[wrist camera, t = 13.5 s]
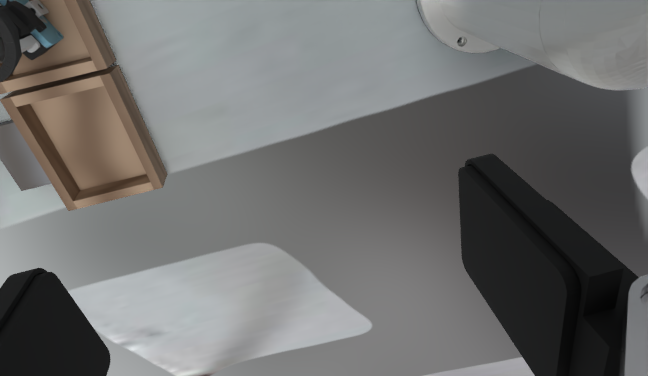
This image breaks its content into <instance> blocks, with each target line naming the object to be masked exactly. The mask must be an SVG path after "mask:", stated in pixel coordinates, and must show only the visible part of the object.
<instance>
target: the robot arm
mask: <svg viewBox="0 0 648 376" xmlns="http://www.w3.org/2000/svg"><path fill="white" fill-rule="evenodd" d="M417 5H418V10H419V12H420V14H421V17H422V19H423V21H424V23H425V25H426V26H427V27H428V29H429V30H430V32H431V33H432V34H433V35H434V36H435V37H436V38H437V39H439V40H440V41H441V42H443V43H444V44H446V45H448V46H449V47H452V48H454V49H456V50H458V51H463V52H469V53H485V52H490V51H494V50H498V49H500V48H503V49H505V50H507V51H509V52H512V53H514V54H516V55H519V56H521V57H523V58H526V59H528V60H530V61H533V62H535V63H537V64H540V65H542V66H544V67H546V68H549V69H551V70H553V71H556V72H558V73H561V74H563V75H566V76H568V77H571V78H573V79H576V80H578V81H580V82H583V83H585V84H588V85H591V86H594V87H598V88H602V89H609V90H634V89H642V88H646V87H648V0H417ZM459 38H460V41H459V42H457V41H458V39H459ZM458 176H459V198H460V224H461V246H462V247H461V248H462V260H463V264H464V267H465V269H466V271H467V273H468V274H469V276H470V278H471V279H472V280H473V282H474V284H475V285H476V287H477V288H478V290H479V291H480V293H481V294H482V296H483V297H484V299H485V300H486V302H487V303H488V305H489V306H490V308H491V310H492V311H493V313H494V314H495V316H496V317H497V318H498V320H499V322H500V323H501V324H502V326H503V328H504V329H505V331H506V332H507V334H508V335H509V337H510V338H511V340H512V341H513V343H514V345H515V346H516V348H517V349H518V351H519V352H520V354H521V355H522V357H523V358H524V360H525V361H526V363H527V364H528V366H529V367H530V369H531V370H532V372H533V373H534V375H535V376H648V275H645V276H642V277H638V276H636V275H635V274H634V273H633V272H632V271H631V270H629V269H628V268H627V267H626V266H625V265H624V264H623V263H621V262H620V261H619V260H618V259H617V258H616V257H614V256H613V255H612V254H611V253H610V252H609V251H607V250H606V249H605V248H604V247H603V246H602V245H601V244H599V243H598V242H597V241H596V240H595V239H594V238H593V237H591V236H590V235H589V234H588V233H587V232H586V231H584V230H583V229H582V228H581V227H580V226H579V225H578V224H576V223H575V222H574V221H573V220H572V219H571V218H569V217H568V216H567V215H566V214H565V213H564V212H563V211H561V210H560V209H559V208H558V207H557V206H556V205H554V204H553V203H552V202H550V201H549V200H546V199H545V198H544V197H542V196H541V195H540V194H539V193H538V192H536V191H535V190H534V189H533V188H532V187H531V186H530V185H529V184H528V183H526V182H525V181H524V180H523V179H522V178H521V177H519V176H518V175H517V174H516V173H515V172H514V171H513V170H511V169H510V168H509V167H508V166H507V165H506V164H504V163H503V162H502V161H501V160H500V159H499V158H498V157H497V156H495V155H494V154H488V155H484V156H480V157H476V158H472V159H468V160H467V161H466V163H465V167H462V168H460V169H459V174H458ZM109 365H110V353H109V350H108V348H107V347H106V345H105V344H104V343H103V341H102V340H101V339H100V337H99V336H98V334H97V333H96V331H95V330H94V328H93V327H92V325H91V324H90V323H89V321H88V320H87V318H86V317H85V315H84V314H83V313H82V311H81V310H80V308H79V307H78V306H77V304H76V303H75V301H74V300H73V298H72V297H71V296H70V294H69V293H68V291H67V290H66V288H65V287H64V286H63V284H62V283H61V281H60V280H59V279H58V277H57V276H56V275H55V274H54V273H52V272H47V271H46V270H44V269H42V268H37V269H33V270H29V271H25V272H21V273H17V274H13V275H11V276H10V277H8V278H7V280H6V281H5V283H4V284H3V285H2V287H1V288H0V376H106V375H107V372H108V369H109Z"/></svg>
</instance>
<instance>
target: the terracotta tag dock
mask: <svg viewBox="0 0 648 376" xmlns="http://www.w3.org/2000/svg"><path fill="white" fill-rule="evenodd" d="M29 1H32V0H29ZM39 1H40V2H41V3H42V4H43V5H44V6H45V7H46V8H47V9H48V11H49V13H47V14H44V15H43V14H42V15H43V16H44V17H45V18H46V19H47V20H48V21H49V22H50V23H51V24H52V25H53V26H54V27H55V28H56V29H57V30H58V31H59V32H60V33H61V34H62V35H63V37H64V38H63V39H62V40H60V41H59V42H58V43H57V44H55V45H54V46H53V47H52V48H50V49H49V50H48V51H47V52H45V53H44V54H43V55H41V56H39V57H37V58H35V59H34V60H30V59H28V58H27V57H26V56H25V55H24V54H23V53H22V56H21V58H20V60H19V62H18V64H17V66H16V68H15V70H14V71H13V73H12V74H11V75H10V76H9V77H8V78H7V79H5V80H4V81H2V82H0V94H3V93H7V92H11V91H15V90H19V89H24V88H28V87H32V86H36V85H40V84H44V83H48V82H53V81H57V80H61V79H65V78H69V77H73V76H78V75H82V74H86V73H90V72H94V71H98V70H103V69H107V68H108V67H109V66H111V65H112V64H113V63H114V62H115V61H116V59H115V56H114V54H113V52H112V50H111V47H110V45H109V43H108V41H107V38H106V36H105V34H104V32H103V30H102V27H101V25H100V23H99V21H98V18H97V16H96V14H95V12H94V9H93V7H92V5H91V3H90V1H89V0H39ZM38 6H39V7H40V8H41V9H43V8H42V7H41V6H40V5H39V4H38ZM2 64H3V62H2V63H0V67H1V65H2Z"/></svg>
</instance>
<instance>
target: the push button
mask: <svg viewBox="0 0 648 376" xmlns="http://www.w3.org/2000/svg"><path fill="white" fill-rule="evenodd" d="M38 4H39V5H40V6H41V7H42V8H43V9H41V8H40V7H39V6H38ZM47 13H49V11H48V9H47V8H46V7H45V6H44V5H43V4H42V3H41V2H40V1H39V0H32V1H29V0H0V63H2V62H3V64H2V65H1V67H0V82H2V81H4V80H5V79H7V78H8V77H9V76H10V75H11V74H12V73H13V71H14V70H15V68H16V66H17V64H18V62H19V60H20V58H21V56H22V53H23V54H24V55H25V56H26V57H27V58H28V59H30V60H34V59H35V58H37V57H39V56H41V55H43V54H44V53H45V52H47V51H48V50H49V49H50V48H52V47H53V46H54V45H55V44H57V43H58V42H59V41H60V40H62V39H63V38H64V37H63V35H62V34H61V33H60V32H59V31H58V30H57V29H56V28H55V27H54V26H53V25H52V24H51V23H50V22H49V21H48V20H47V19H46V18H45V17H44V16H43V15H44V14H47ZM42 14H43V15H42Z"/></svg>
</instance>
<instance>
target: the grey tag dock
mask: <svg viewBox="0 0 648 376" xmlns="http://www.w3.org/2000/svg"><path fill="white" fill-rule="evenodd" d="M0 101H1V102H2V104H3V106H4V107H5V109H6V110H7V112H8V114H9V115H10V117H11V119H12V120H10V121H6V122H2V123H0V159H1V161H2V162H3V164H4V165H5V167H6V168H7V170H8V171H9V173H10V174H11V176H12V177H13V179H14V180H15V182H16V183H17V185H18V186H19V188H20V189H21V191H23V190H27V189H31V188H35V187H39V186H43V185H47V184H51V183H52V185H53V186H54V188H55V190H56V191H57V193H58V195H59V196H60V198H61V199H62V201H63V203H64V204H65V206H66V208H67V209H68V210H69V211H70V210H74V209H78V208H83V207H87V206H91V205H95V204H99V203H103V202H107V201H110V200H115V199H119V198H123V197H127V196H131V195H135V194H139V193H143V192H147V191H151V190H155V189H159V188H162V187H163V185H164V182H165V179H166V177H167V172H166V170H165V168H164V166H163V163H162V161H161V159H160V157H159V154H158V152H157V150H156V148H155V145H154V143H153V141H152V139H151V137H150V134H149V132H148V130H147V128H146V125H145V123H144V121H143V119H142V116H141V114H140V112H139V110H138V108H137V105H136V103H135V101H134V99H133V96H132V94H131V92H130V90H129V87H128V85H127V83H126V81H125V79H124V76H123V74H122V72H121V70H120V67H119V65H116V66H112V67H108V68H107V69H103V70H98V71H94V72H90V73H86V74H82V75H78V76H73V77H69V78H65V79H61V80H57V81H53V82H48V83H44V84H40V85H36V86H32V87H28V88H24V89H19V90H15V91H13V92H11V93H10V94H8V95H7V96H5V97H4V98H2V99H0Z"/></svg>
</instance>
